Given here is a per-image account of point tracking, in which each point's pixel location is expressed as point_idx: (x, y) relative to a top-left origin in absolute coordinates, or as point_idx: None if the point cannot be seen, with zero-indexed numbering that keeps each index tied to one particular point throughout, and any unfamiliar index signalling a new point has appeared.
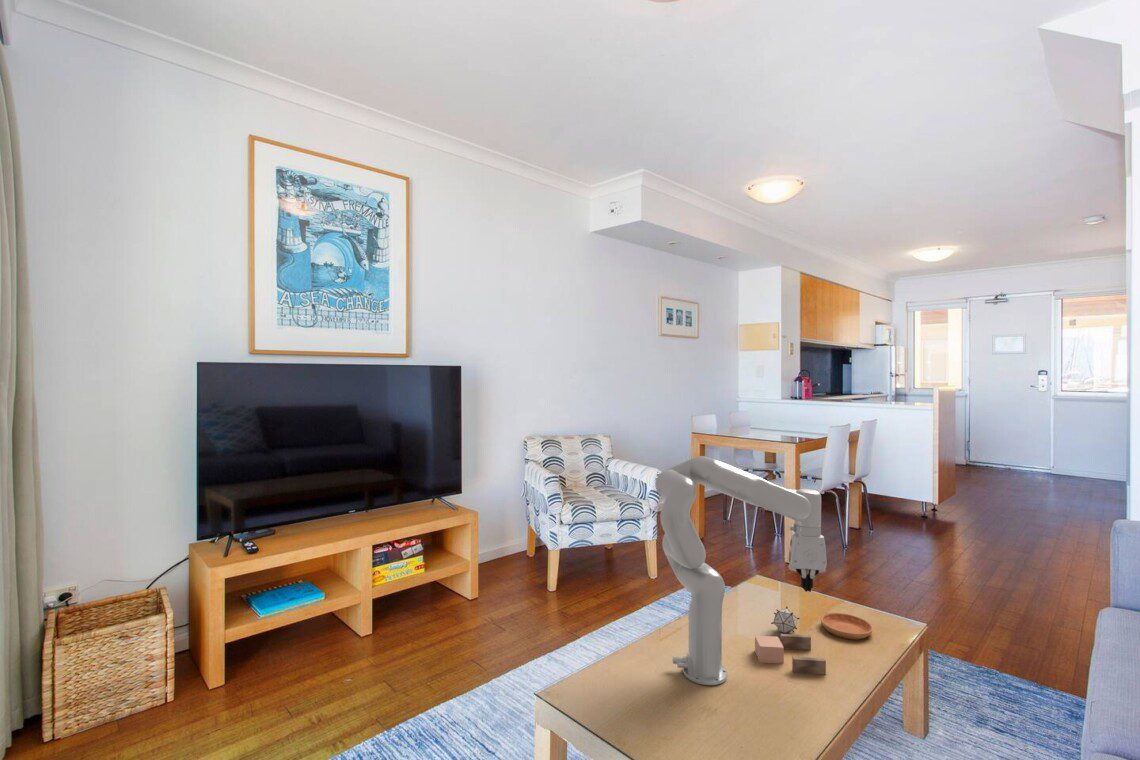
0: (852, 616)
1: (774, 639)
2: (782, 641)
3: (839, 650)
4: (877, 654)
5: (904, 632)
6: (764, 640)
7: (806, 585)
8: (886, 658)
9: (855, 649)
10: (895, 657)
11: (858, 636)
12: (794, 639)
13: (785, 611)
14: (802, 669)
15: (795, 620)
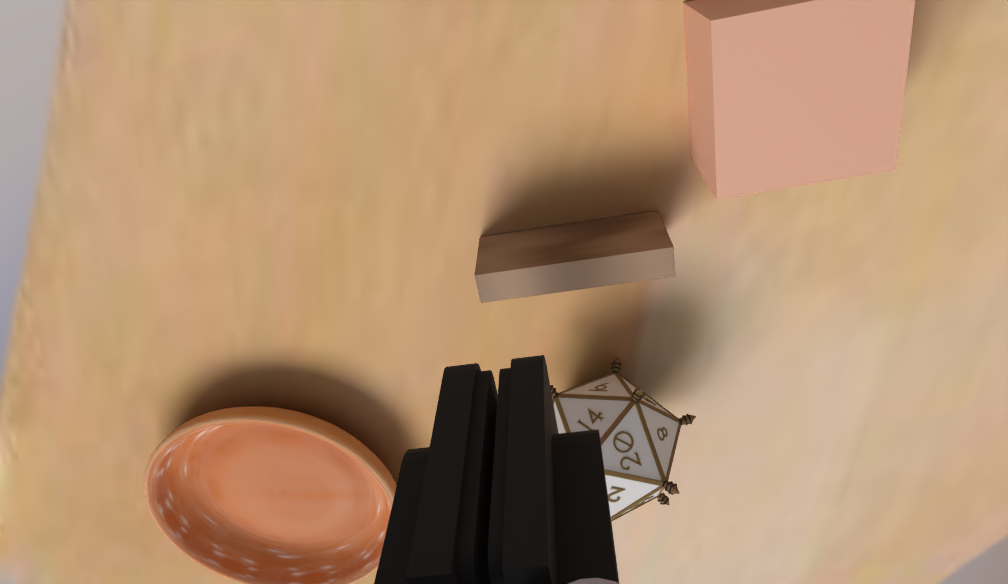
0: (248, 578)
1: (753, 147)
2: (659, 230)
3: (318, 275)
4: (120, 284)
5: (32, 518)
6: (842, 105)
7: (527, 435)
8: (70, 252)
9: (235, 308)
10: (29, 276)
11: (213, 412)
12: (582, 250)
13: (615, 489)
14: None
15: None
